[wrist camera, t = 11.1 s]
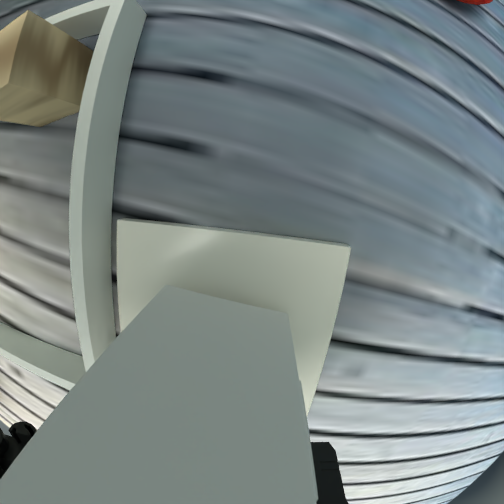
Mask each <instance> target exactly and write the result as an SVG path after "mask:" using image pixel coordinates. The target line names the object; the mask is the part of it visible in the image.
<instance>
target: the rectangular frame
mask: <svg viewBox="0 0 504 504" xmlns="http://www.w3.org/2000/svg"><path fill="white" fill-rule="evenodd" d="M146 16H147V14H146V13H145V12H144V10H143V9H142V8H141V7H140V5H139V4H138V3H137V1H136V0H94V1H91V2H88V3H85V4H82V5H79V6H76V7H74V8H71V9H68V10H66V11H63V12H61V13H58V14H56V15H53V16H51V17H49V18H46V19H44V20H46V21H48V22H49V23H51V24H52V25H54V26H56V27H57V28H59V29H60V30H62V31H64V32H65V33H67V34H68V35H70V36H71V37H73V38H74V39H76V40H78V39H82V38H85V37H89V36H93V35H96V34H99V37H98V40H97V43H96V46H95V50H94V53H93V56H92V60H91V63H90V67H89V71H88V74H87V78H86V82H85V87H84V91H83V96H82V100H81V105H80V110H79V116H78V122H77V128H76V134H75V141H74V149H73V158H72V168H71V181H70V199H69V252H70V270H71V282H72V293H73V302H74V309H75V317H76V323H77V330H78V336H79V341H80V347H81V352H82V356H80V355H77V354H74V353H71V352H69V351H66V350H63V349H61V348H58V347H56V346H53V345H50V344H48V343H45V342H43V341H41V340H38V339H36V338H34V337H31V336H29V335H27V334H25V333H22V332H20V331H18V330H16V329H14V328H12V327H10V326H7V325H5V324H3V323H1V322H0V355H1V356H3V357H5V358H6V359H8V360H10V361H12V362H13V363H15V364H17V365H19V366H21V367H22V368H24V369H26V370H28V371H30V372H32V373H34V374H36V375H38V376H40V377H42V378H44V379H46V380H48V381H50V382H53V383H55V384H57V385H59V386H62V387H64V388H66V389H69V390H71V389H72V388H73V387H74V385H75V384H76V383H77V382H78V381H79V380H80V378H81V377H82V376H83V375H84V374H85V373H86V372H87V370H88V369H89V368H90V367H91V366H92V365H93V363H94V362H95V361H96V360H97V359H98V358H99V357H100V356H101V354H102V353H103V352H104V351H105V350H106V349H107V348H108V347H109V345H110V344H111V343H112V342H113V341H114V340H115V339H116V331H115V321H114V309H113V294H112V272H111V221H112V199H113V184H114V173H115V163H116V154H117V145H118V138H119V131H120V124H121V118H122V112H123V107H124V101H125V96H126V91H127V86H128V82H129V77H130V73H131V69H132V65H133V61H134V57H135V53H136V49H137V46H138V42H139V39H140V35H141V32H142V29H143V26H144V22H145V19H146Z"/></svg>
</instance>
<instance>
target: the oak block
mask: <svg viewBox="0 0 504 504" xmlns="http://www.w3.org/2000/svg"><path fill="white" fill-rule="evenodd" d="M92 56H93V51H92V50H91V49H89V48H88V47H86V46H85V45H83V44H82V43H80V42H79V41H77V40H76V39H74V38H73V37H71V36H70V35H68V34H67V33H65V32H64V31H62V30H60V29H59V28H57V27H56V26H54V25H52V24H51V23H49V22H48V21H46V20H44V19H43V18H41V17H39V16H38V15H36V14H34V13H32V12H31V11H29V10H28V11H26V12H25V13H23V14H22V15H21V16H19V17H18V18H16V19H15V20H14V21H12V22H11V23H10V24H9V25H7V26H6V27H5V28H3V29H2V30H1V31H0V121H7V122H13V123H20V124H26V125H32V126H37V127H42V126H44V125H47V124H49V123H51V122H54V121H56V120H59V119H61V118H64V117H67V116H69V115H72V114H75V113H77V112H79V110H80V105H81V100H82V96H83V91H84V87H85V82H86V78H87V74H88V71H89V67H90V63H91V60H92Z"/></svg>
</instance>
